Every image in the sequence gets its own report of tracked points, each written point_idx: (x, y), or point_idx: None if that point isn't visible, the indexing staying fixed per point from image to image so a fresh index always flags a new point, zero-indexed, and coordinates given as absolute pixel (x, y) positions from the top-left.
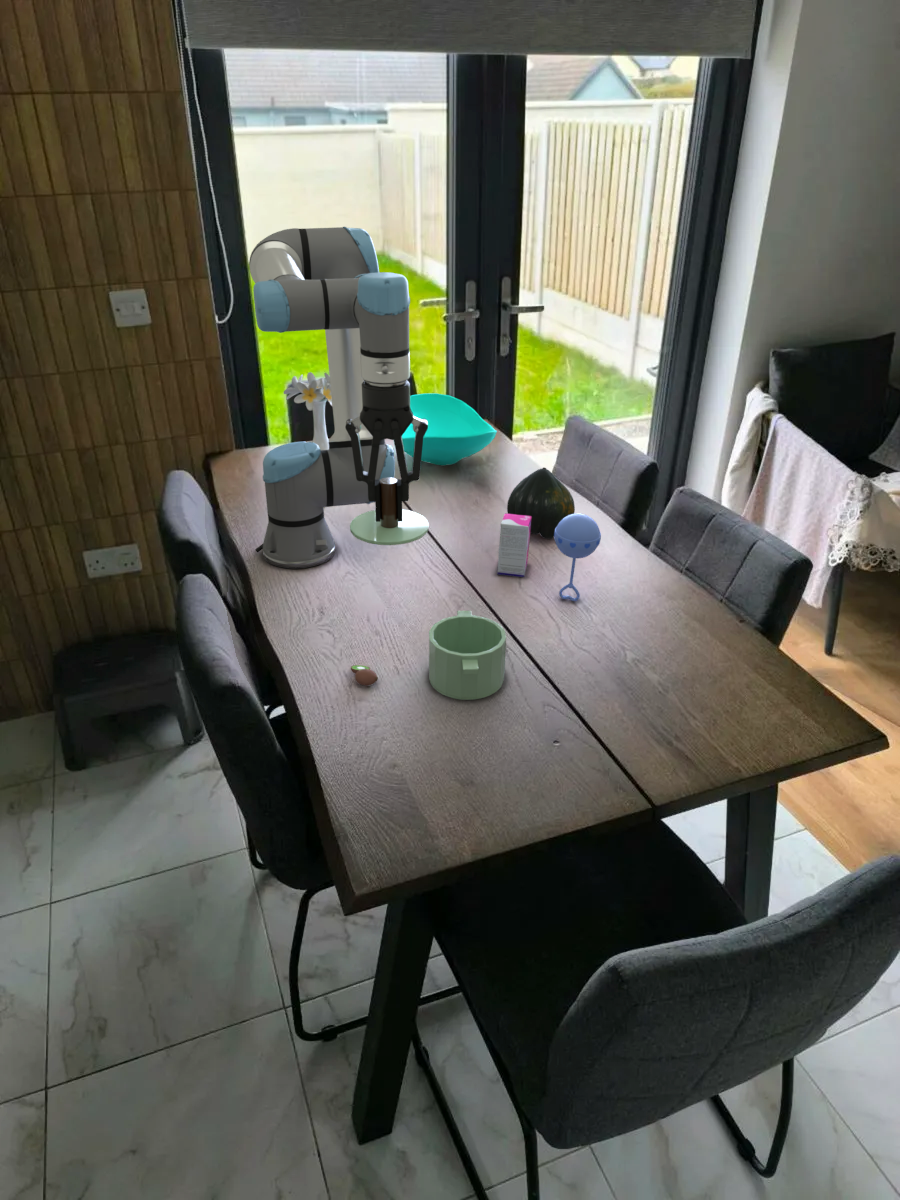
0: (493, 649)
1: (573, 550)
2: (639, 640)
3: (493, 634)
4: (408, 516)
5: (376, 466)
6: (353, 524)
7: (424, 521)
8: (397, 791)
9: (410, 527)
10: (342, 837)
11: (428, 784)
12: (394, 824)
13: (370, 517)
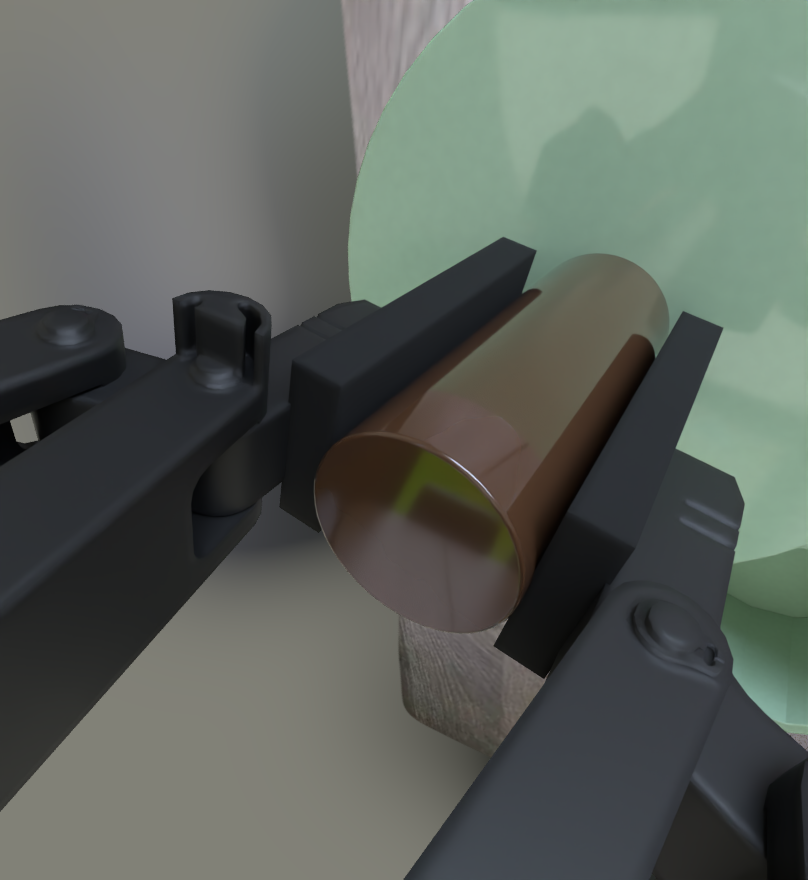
0: (801, 730)
1: None
2: None
3: None
4: None
5: (107, 684)
6: (369, 214)
7: None
8: (485, 660)
9: (728, 439)
10: (403, 662)
11: (531, 681)
12: (463, 691)
13: (502, 130)
